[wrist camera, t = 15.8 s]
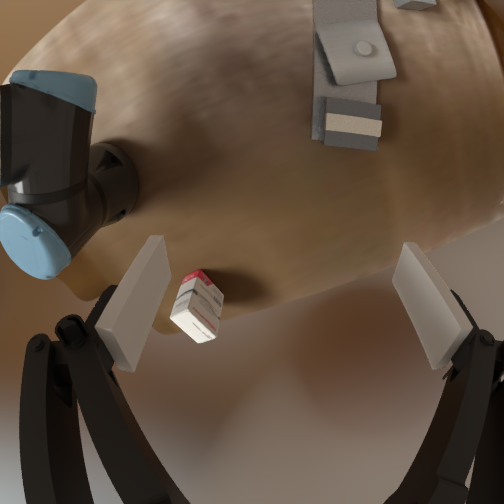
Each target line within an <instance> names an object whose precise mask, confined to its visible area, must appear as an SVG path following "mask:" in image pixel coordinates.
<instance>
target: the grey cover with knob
mask: <svg viewBox="0 0 504 504" xmlns="http://www.w3.org/2000/svg"><path fill="white" fill-rule="evenodd" d="M317 34H318V36H319V38H320V41H321V43H322V46H323V48H324V51H325V53H326V56H327V58H328V61H329V64H330V66H331V69H332V72H333V75H334V77H335V80H336V83H337V84H338V85H340V86H346V85H351V84H357V83H363V82H369V81H376V80H383V79H391V78H395V77H396V76H397V72H396V69H395V66H394V62H393V59H392V56H391V53H390V51H389V48H388V45H387V42H386V40H385V37H384V35H383V32H382V30H381V27H380V25H379V23H378V22H377V21H376V20H360V21H350V22H341V23H333V24H326V25H321V26H319V27H318V28H317Z"/></svg>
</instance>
